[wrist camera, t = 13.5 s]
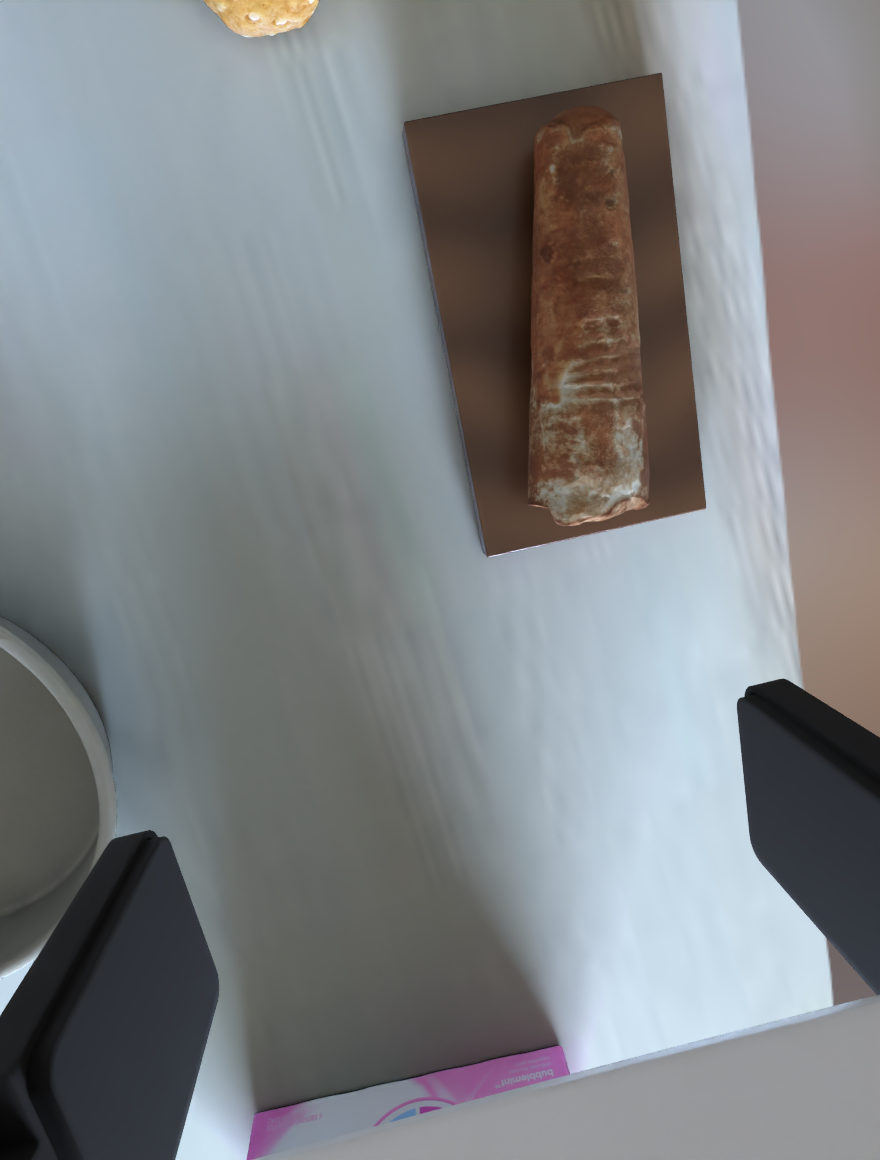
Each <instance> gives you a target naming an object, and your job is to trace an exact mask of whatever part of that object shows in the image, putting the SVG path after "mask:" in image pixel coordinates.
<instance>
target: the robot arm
mask: <svg viewBox="0 0 880 1160" xmlns="http://www.w3.org/2000/svg"><path fill="white" fill-rule="evenodd" d="M737 713H738V723H739V733H740V743H741V753H742V763H743V773H744V783H745V793H746V803H747V813H748V823H749V833H750V840H751V844H752V847H753V850H754V852H755V854H756V856H757V858H758V859H759V861H760V862H761V863H762V865H763V866H764V867H765V868H766V869H767V870H768V871H769V873H770V874H771V875H772V876H773V877H774V878H775V879H776V881H777V882H778V883H779V884H780V885H781V886H782V887H783V889H784V890H785V891H786V892H787V893H788V894H789V895H790V897H791V898H792V899H793V900H794V901H795V902H796V903H797V905H798V906H799V907H800V908H801V909H802V910H803V911H804V913H805V914H806V915H807V916H808V917H809V918H810V919H811V921H812V922H813V923H814V924H815V925H816V926H817V927H818V929H819V930H820V931H821V932H822V933H823V934H824V935H825V936H826V938H827V939H828V940H829V941H830V942H831V943H832V944H833V946H834V947H835V948H836V949H837V950H838V951H839V952H840V954H841V955H842V956H843V957H844V958H845V959H846V960H847V961H848V963H849V964H850V965H851V966H852V967H853V968H854V970H855V971H856V972H857V973H858V974H859V975H860V976H861V978H862V979H863V980H864V981H865V982H866V983H867V984H868V985H869V987H870V988H871V989H872V990H873V991H874V992H875V993H876V995H877V996H873V997H869V998H865V999H861V1000H856V1001H852V1002H848V1003H844V1004H840V1005H836V1006H832V1007H828V1008H825V1009H821V1010H817V1011H813V1012H809V1013H805V1014H801V1015H797V1016H793V1017H790V1018H786V1019H782V1020H778V1021H774V1022H770V1023H766V1024H762V1025H758V1026H755V1027H751V1028H747V1029H743V1030H739V1031H735V1032H731V1033H727V1034H723V1035H719V1036H716V1037H712V1038H708V1039H704V1040H700V1041H696V1042H692V1043H688V1044H684V1045H681V1046H677V1047H673V1048H669V1049H665V1050H661V1051H657V1052H654V1053H650V1054H646V1055H642V1056H638V1057H634V1058H631V1059H627V1060H623V1061H619V1062H615V1063H612V1064H608V1065H604V1066H600V1067H596V1068H593V1069H589V1070H585V1071H581V1072H577V1073H574V1074H570V1075H566V1076H562V1077H558V1078H555V1079H551V1080H547V1081H543V1082H539V1083H536V1084H532V1085H528V1086H524V1087H521V1088H517V1089H513V1090H509V1091H505V1092H502V1093H498V1094H494V1095H490V1096H487V1097H483V1098H479V1099H475V1100H472V1101H468V1102H464V1103H460V1104H456V1105H453V1106H449V1107H445V1108H441V1109H438V1110H434V1111H430V1112H426V1113H423V1114H419V1115H415V1116H411V1117H408V1118H404V1119H400V1120H397V1121H393V1122H389V1123H386V1124H382V1125H378V1126H374V1127H371V1128H367V1129H363V1130H360V1131H356V1132H352V1133H349V1134H345V1135H341V1136H338V1137H334V1138H330V1139H327V1140H323V1141H319V1142H315V1143H312V1144H308V1145H304V1146H301V1147H297V1148H293V1149H290V1150H286V1151H282V1152H279V1153H275V1154H271V1155H267V1156H264V1157H260V1158H256V1159H253V1160H880V737H878V736H876V735H875V734H873V733H872V732H870V731H868V730H867V729H865V728H864V727H862V726H860V725H859V724H857V723H856V722H854V721H852V720H851V719H849V718H847V717H846V716H844V715H843V714H841V713H840V712H838V711H836V710H835V709H833V708H831V707H830V706H828V705H827V704H825V703H824V702H822V701H820V700H819V699H817V698H816V697H814V696H812V695H811V694H809V693H808V692H806V691H804V690H803V689H801V688H800V687H798V686H796V685H795V684H793V683H792V682H790V681H788V680H786V679H779V680H774V681H770V682H766V683H762V684H758V685H753V686H749V687H748V688H747V689H746V692H745V697H742V698H740V699H739V700H738V702H737ZM218 997H219V979H218V974H217V970H216V967H215V964H214V962H213V959H212V956H211V953H210V951H209V948H208V945H207V942H206V939H205V937H204V934H203V931H202V928H201V926H200V923H199V920H198V917H197V915H196V912H195V909H194V906H193V904H192V901H191V898H190V895H189V892H188V890H187V887H186V884H185V881H184V879H183V876H182V873H181V870H180V868H179V865H178V862H177V859H176V856H175V854H174V851H173V848H172V845H171V843H170V841H169V840H168V838H167V837H164V836H163V837H159V838H158V836H157V835H156V833H155V832H154V831H151V830H148V831H144V832H140V833H135V834H131V835H127V836H123V837H119V838H115V839H112V840H111V841H110V842H109V843H108V845H107V847H106V848H105V850H104V851H103V853H102V854H101V856H100V858H99V859H98V861H97V862H96V864H95V866H94V867H93V869H92V870H91V872H90V874H89V875H88V877H87V878H86V880H85V882H84V883H83V885H82V886H81V888H80V890H79V891H78V893H77V894H76V896H75V898H74V899H73V901H72V902H71V904H70V906H69V907H68V909H67V910H66V912H65V913H64V915H63V917H62V918H61V920H60V921H59V923H58V925H57V926H56V928H55V929H54V931H53V933H52V934H51V936H50V937H49V939H48V941H47V942H46V944H45V945H44V947H43V949H42V950H41V952H40V953H39V955H38V957H37V958H36V960H35V961H34V963H33V965H32V966H31V968H30V969H29V971H28V972H27V974H26V976H25V977H24V979H23V980H22V982H21V984H20V985H19V987H18V988H17V990H16V992H15V993H14V995H13V996H12V998H11V1000H10V1001H9V1003H8V1004H7V1006H6V1008H5V1009H4V1011H3V1012H2V1014H1V1016H0V1160H175V1158H176V1154H177V1151H178V1147H179V1143H180V1139H181V1136H182V1132H183V1128H184V1125H185V1121H186V1117H187V1113H188V1110H189V1106H190V1102H191V1098H192V1095H193V1091H194V1087H195V1084H196V1080H197V1076H198V1072H199V1069H200V1065H201V1061H202V1057H203V1054H204V1050H205V1046H206V1043H207V1039H208V1035H209V1031H210V1028H211V1024H212V1020H213V1017H214V1013H215V1009H216V1005H217V1002H218Z"/></svg>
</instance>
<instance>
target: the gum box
mask: <svg viewBox="0 0 880 1160" xmlns="http://www.w3.org/2000/svg"><path fill="white" fill-rule="evenodd" d="M566 1075H570V1073H569V1070H568V1066H567V1062H566V1059H565V1055H564V1051H563V1048H562V1047H561V1046H554V1047H550V1048H546V1049H542V1050H537V1051H533V1052H528V1053H524V1054H518V1055H512V1056H507V1057H502V1058H497V1059H493V1060H489V1061H485V1062H483V1063H478V1064H474V1065H469V1066H465V1067H460V1068H454V1069H449V1070H444V1071H439V1072H435V1073H431V1074H427V1075H424V1076H421V1077H416V1078H412V1079H408V1080H403V1081H397V1082H391V1083H386V1084H381V1085H377V1086H373V1087H369V1088H366V1089H363V1090H359V1091H354V1092H350V1093H346V1094H341V1095H334V1096H329V1097H324V1098H320V1099H315V1100H312V1101H307V1102H303V1103H300V1104H296V1105H292V1106H288V1107H283V1108H279V1109H274V1110H270V1111H265V1112H260V1113H256V1114H255V1115H254V1120H253V1125H252V1131H251V1137H250V1144H249V1150H248V1155H247V1160H253V1159H256V1158H260V1157H264V1156H267V1155H271V1154H275V1153H279V1152H282V1151H286V1150H290V1149H293V1148H297V1147H301V1146H304V1145H308V1144H312V1143H315V1142H319V1141H323V1140H327V1139H330V1138H334V1137H338V1136H341V1135H345V1134H349V1133H352V1132H356V1131H360V1130H363V1129H367V1128H371V1127H374V1126H378V1125H382V1124H386V1123H389V1122H393V1121H397V1120H400V1119H404V1118H408V1117H411V1116H415V1115H419V1114H423V1113H426V1112H430V1111H434V1110H438V1109H441V1108H445V1107H449V1106H453V1105H456V1104H460V1103H464V1102H468V1101H472V1100H475V1099H479V1098H483V1097H487V1096H490V1095H494V1094H498V1093H502V1092H505V1091H509V1090H513V1089H517V1088H521V1087H524V1086H528V1085H532V1084H536V1083H539V1082H543V1081H547V1080H551V1079H555V1078H558V1077H562V1076H566Z"/></svg>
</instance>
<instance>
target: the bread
mask: <svg viewBox="0 0 880 1160" xmlns="http://www.w3.org/2000/svg"><path fill="white" fill-rule="evenodd" d="M531 351H532V360H531V368H532V374H531V388H530V391H531V394H530V405H529V454H528V505H529V506H536V507H542V508H548V509H549V510H550V512H551V515H552V517H553V519H554V521H555V522H556V524H558V525H561V526H575V525H580V524H582V523H584V522H590V521H603V520H607V519H610V518H612V517H614V516H617V515H620V514H622V513H623V512H625V511H628V510H632V509H635V510H638V509H642V508H646V507H647V506H648V505H649V504H650V500H649V496H648V493H649V458H648V441H647V427H646V414H645V408H646V404H645V400H644V397H643V389H642V373H641V358H640V332H639V320H638V302H637V288H636V276H635V263H634V252H633V243H632V235H631V224H630V216H629V196H628V186H627V175H626V166H625V158H624V152H623V144H622V133H621V126H620V123H619V121H618V120H617V119H616V118H615V117H614V116H613V115H612V114H611V113H610V112H608V111H606V110H605V109H603V108H600V107H596V106H588V105H586V106H575V107H572V108H570V109H567V110H564V111H562V112H561V113H559V114H558V115H556V116H555V117H554V118H553V119H552V120H551V121H550V122H549V123H547V124H545V125H543V126H542V127H541V128H540V129H539V131H538V132H537V133H536V134H535V137H534V218H533V262H532V290H531Z"/></svg>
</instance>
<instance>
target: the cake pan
mask: <svg viewBox="0 0 880 1160" xmlns="http://www.w3.org/2000/svg"><path fill="white" fill-rule="evenodd" d="M116 822H117V802H116V790H115V784H114V779H113V769H112V758H111V752H110V747H109V742H108V739H107V736H106V733H105V729H104V726H103V724H102V721H101V719H100V716H99V714H98V711H97V710H96V708H95V706H94V704H93V703H92V701H91V699H90V697H89V695H88V694H87V692H86V691H85V689H84V688H83V686H82V685H81V683H80V682H79V680H78V679H77V678H76V677H75V675H74V674H73V673H72V672H71V671H70V670H69V668H68V667H67V666H66V665H65V664H64V663H63V662H62V661H61V660H60V659H59V658H58V657H57V656H56V655H55V654H54V653H53V652H52V651H51V650H50V649H48V648H47V647H46V646H45V645H44V644H43V643H41V642H40V641H39V640H37V639H36V638H35V637H34V636H32V635H31V634H29V633H28V632H26V631H25V630H23V629H22V628H20V627H19V626H17V625H15V624H13V623H12V622H10V621H8V620H6V619H4V618H2V617H0V979H1V978H3V977H5V976H8V975H10V974H12V973H14V972H16V971H18V970H20V969H21V968H23V967H25V966H26V965H28V964H30V963H31V962H33V961H34V960H36V958H37V957H38V955H39V953H40V952H41V950H42V949H43V947H44V945H45V944H46V942H47V941H48V939H49V937H50V936H51V934H52V933H53V931H54V929H55V928H56V926H57V925H58V923H59V921H60V920H61V918H62V917H63V915H64V913H65V912H66V910H67V909H68V907H69V906H70V904H71V902H72V901H73V899H74V898H75V896H76V894H77V893H78V891H79V890H80V888H81V886H82V885H83V883H84V882H85V880H86V878H87V877H88V875H89V874H90V872H91V870H92V869H93V867H94V866H95V864H96V862H97V861H98V859H99V858H100V856H101V854H102V853H103V851H104V850H105V848H106V847H107V845H108V843H109V842H110V841H111V840H112V839H115V836H116Z"/></svg>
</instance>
